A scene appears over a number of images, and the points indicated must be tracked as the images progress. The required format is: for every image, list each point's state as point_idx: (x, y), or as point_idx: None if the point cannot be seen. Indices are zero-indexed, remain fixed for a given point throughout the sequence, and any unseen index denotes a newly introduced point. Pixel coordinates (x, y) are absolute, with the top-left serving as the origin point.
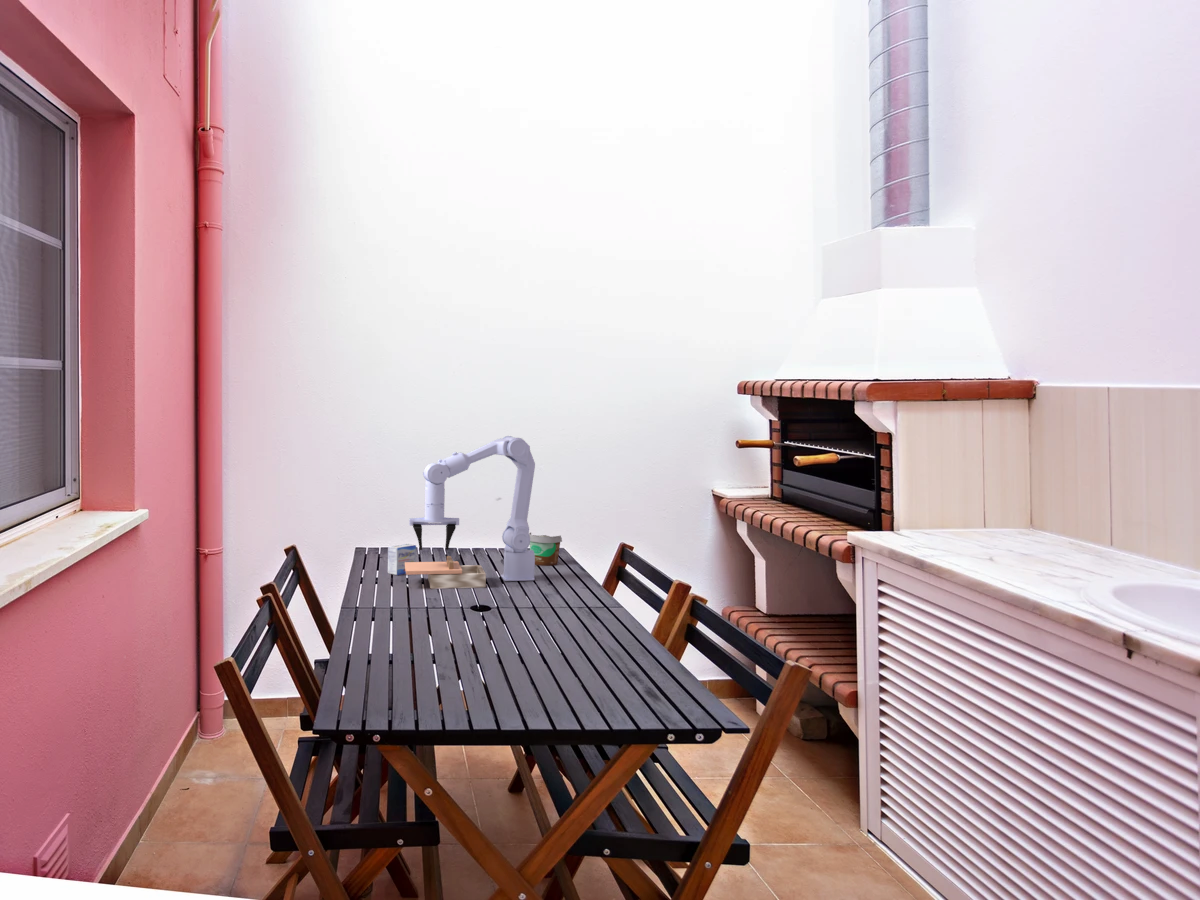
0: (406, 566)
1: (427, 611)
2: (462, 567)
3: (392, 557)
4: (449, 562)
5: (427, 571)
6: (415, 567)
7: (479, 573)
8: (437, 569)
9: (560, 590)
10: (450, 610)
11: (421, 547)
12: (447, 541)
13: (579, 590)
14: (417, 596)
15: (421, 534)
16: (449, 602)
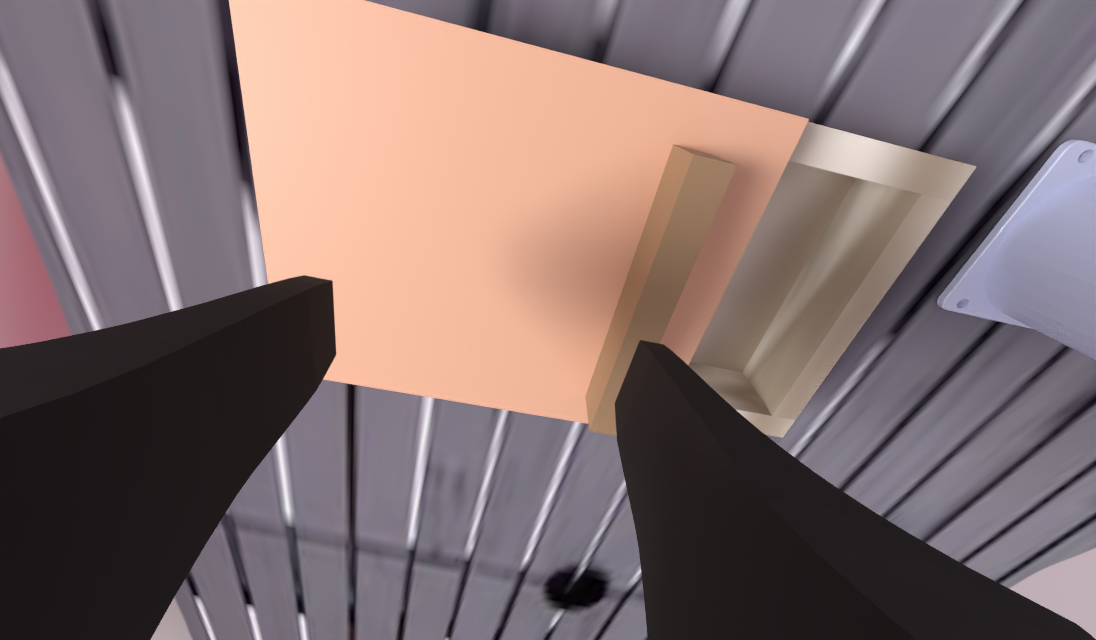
0: (268, 213)
1: (408, 580)
2: (797, 161)
3: None
4: (591, 428)
5: (431, 393)
6: (349, 275)
7: (758, 418)
8: (505, 381)
9: (986, 501)
10: (479, 587)
11: (312, 379)
12: (638, 506)
13: (1046, 517)
14: (391, 437)
15: (173, 588)
16: (500, 528)
